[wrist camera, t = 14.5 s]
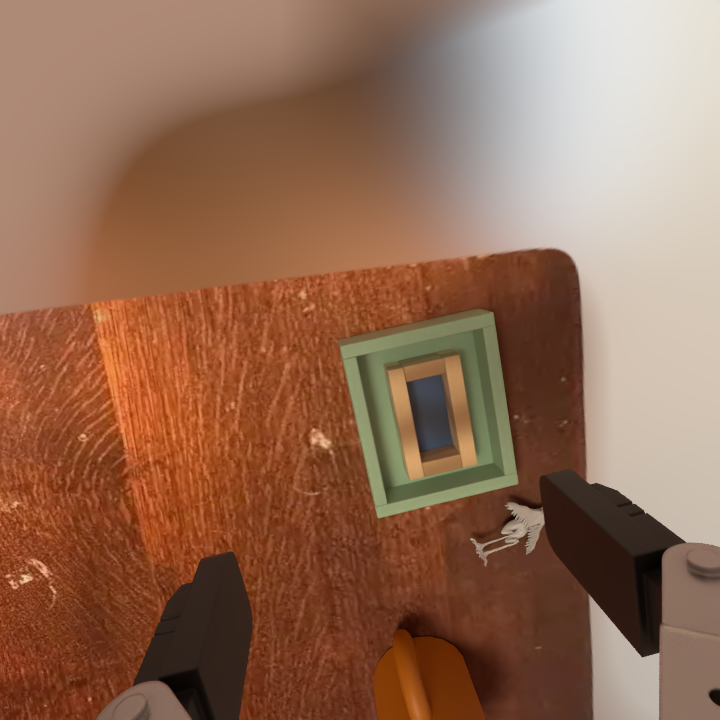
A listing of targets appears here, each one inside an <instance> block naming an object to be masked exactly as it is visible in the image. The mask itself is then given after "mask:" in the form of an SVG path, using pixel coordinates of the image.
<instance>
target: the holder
mask: <svg viewBox="0 0 720 720" xmlns="http://www.w3.org/2000/svg"><path fill="white" fill-rule="evenodd" d="M338 344H339V349H340V353H341V358H342V362H343V367H344V371H345V376H346V380H347V385H348V389H349V394H350V398H351V403H352V407H353V412H354V416H355V421H356V426H357V430H358V435H359V439H360V444H361V448H362V453H363V457H364V462H365V466H366V471H367V475H368V480H369V484H370V489H371V493H372V498H373V502H374V506H375V509H376V513H377V517H378V518H382V517H386V516H390V515H394V514H398V513H402V512H406V511H410V510H414V509H418V508H423V507H427V506H431V505H435V504H439V503H443V502H447V501H451V500H455V499H459V498H463V497H467V496H471V495H475V494H480V493H484V492H488V491H492V490H496V489H500V488H504V487H508V486H512V485H516V484H518V477H517V473H516V472H517V471H516V464H515V457H514V450H513V443H512V437H511V430H510V423H509V416H508V409H507V402H506V395H505V388H504V382H503V375H502V368H501V361H500V354H499V347H498V340H497V333H496V327H495V320H494V313H493V312H490V311H487V310H483V309H480V308H477V309H473V310H468V311H464V312H459V313H455V314H450V315H446V316H441V317H437V318H432V319H428V320H423V321H419V322H414V323H410V324H405V325H401V326H396V327H392V328H387V329H383V330H378V331H374V332H369V333H365V334H360V335H356V336H351V337H347V338H342V339H338ZM447 349H451V350H453V351H454V352H456V353H458V354H459V355H460V361H461V367H462V373H463V379H464V385H465V391H466V397H467V403H468V409H469V415H470V422H471V428H472V434H473V440H474V446H475V452H476V458H477V465H473V466H469V467H465V468H463V467H462V468H460V469H456V470H452V471H448V472H443V473H439V474H435V475H431V476H427V477H423V478H419V479H414V480H409V478H408V476H407V474H406V471H405V469H404V466H403V461H402V456H401V452H400V447H399V442H398V437H397V432H396V427H395V422H394V417H393V412H392V407H391V402H390V397H389V392H388V387H387V383H386V378H385V373H384V368H383V364H386V363H390V362H395V361H399V360H404V359H408V358H413V357H417V356H421V355H426V354H430V353H434V352H435V353H436V352H438V351H443V350H447Z"/></svg>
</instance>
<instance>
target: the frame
mask: <svg viewBox="0 0 720 720" xmlns="http://www.w3.org/2000/svg"><path fill="white" fill-rule="evenodd" d="M383 368H384V373H385V378H386V383H387V387H388V392H389V397H390V402H391V407H392V412H393V417H394V422H395V427H396V432H397V437H398V442H399V447H400V452H401V456H402V461H403V466H404V469H405V471H406V474H407V476H408V478H409V480H414V479H419V478H423V477H427V476H431V475H435V474H439V473H443V472H448V471H452V470H456V469H460V468H462V467H463V468H465V467H469V466H473V465H477V458H476V452H475V446H474V440H473V434H472V428H471V422H470V415H469V409H468V403H467V397H466V391H465V385H464V379H463V373H462V367H461V361H460V355H459V354H458V353H456V352H454V351H453V350H451V349H447V350H443V351H438V352H436V353H435V352H434V353H430V354H426V355H421V356H417V357H413V358H408V359H404V360H399V361H395V362H390V363H386V364H383Z"/></svg>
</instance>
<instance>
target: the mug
mask: <svg viewBox="0 0 720 720" xmlns="http://www.w3.org/2000/svg"><path fill="white" fill-rule="evenodd" d="M392 644H393V647H392V648H390V649H389V650H388V651H387V652H386V653H385V654H384V655H383V657H382V658H381V659H380V660H379V662H378V664H377V667H376V669H375V672H374V682H373V687H374V695H375V702H376V710H377V718H378V720H486V718H485V715H484V713H483V710H482V707H481V704H480V702H479V699H478V696H477V693H476V691H475V688H474V685H473V682H472V680H471V677H470V674H469V672H468V669H467V666H466V663H465V661H464V658H463V656H462V655H461V653H460V652H459V651H458V650H457V648H456V647H455V646H453V645H452V644H450V643H448V642H447V641H445V640H443V639H439V638H435V637H431V636H426V637H413V638H412V637H411V635H410V634H409V633H408V632H407V631H406V630H404V629H399V630H397V631H396V632H395V633H394V635H393V640H392Z"/></svg>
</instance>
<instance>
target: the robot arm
mask: <svg viewBox="0 0 720 720" xmlns="http://www.w3.org/2000/svg"><path fill="white" fill-rule="evenodd" d="M540 492H541V500H542V507H543V514H544V522H545V529H546V534H547V537H548V540H549V543H550V545H551V547H552V549H553V551H554V552H555V554H556V555H557V556H558V558H559V559H560V560H561V561H562V562H563V564H564V565H565V566H566V567H567V568H568V569H569V571H570V572H571V573H572V574H573V575H574V577H575V578H576V579H577V580H578V581H579V583H580V584H581V585H582V586H583V587H584V589H585V590H586V591H587V592H588V593H589V595H590V596H591V597H592V598H593V599H594V601H595V602H596V603H597V604H598V605H599V606H600V608H601V609H602V610H603V611H604V612H605V614H606V615H607V616H608V617H609V618H610V620H611V621H612V622H613V623H614V624H615V626H616V627H617V628H618V629H619V630H620V632H621V633H622V634H623V635H624V636H625V638H626V639H627V640H628V641H629V642H630V643H631V645H632V646H633V647H634V648H635V649H636V651H637V652H638V653H639V654H640V655H641V657H645V656H649V655H653V654H656V653H660V675H659V677H660V678H659V680H660V682H659V684H660V685H659V687H660V688H659V695H660V696H659V720H720V547H716V546H713V545H709V544H703V543H686V542H685V541H684V540H682V539H681V538H680V537H678V536H677V535H676V534H674V533H673V532H672V531H670V530H669V529H668V528H666V527H665V526H664V525H662V524H661V523H660V522H658V521H657V520H656V519H654V518H653V517H651V516H650V515H649V514H648V513H646V514H645V512H644V510H642V509H641V508H640V507H638V506H637V505H636V504H632V501H630V500H629V499H627V498H626V497H625V496H624V495H622V494H621V493H620V492H618V491H617V490H614V489H611V488H609V487H606V486H603V485H601V484H598V483H595V484H591V485H590V484H589V483H587V482H586V481H585V480H584V479H582V478H581V477H580V476H579V475H577V474H576V473H575V472H574V471H572V470H570V469H568V470H564V471H560V472H556V473H552V474H547V475H543V476H541V477H540ZM160 620H161V622H159V623H158V626H157V628H156V631H155V633H154V635H155V636H154V637H153V638H152V640H151V643H150V645H149V647H148V650H147V652H146V655H145V657H144V660H143V662H142V664H141V667H140V669H139V672H138V674H137V676H136V679H135V681H134V684H133V686H132V687H131V688H129V689H127V690H126V691H124V692H123V693H121V694H119V695H118V696H117V697H116V698H114V699H113V700H112V701H111V702H110V703H109V704H108V705H107V706H106V707H105V708H104V709H103V710H102V711H101V713H100V714H99V715H98V717H97V718H96V720H239V714H240V707H241V701H242V694H243V688H244V681H245V675H246V668H247V662H248V655H249V649H250V642H251V636H252V612H251V606H250V602H249V599H248V596H247V592H246V589H245V586H244V582H243V579H242V576H241V572H240V569H239V566H238V562H237V559H236V556H235V554H234V553H233V552H232V551H230V552H226V553H222V554H218V555H214V556H210V557H206V558H202V559H201V560H200V563H199V565H198V568H197V571H196V574H195V576H194V579H193V582H192V583H188V584H184V585H182V586H181V587H180V588H179V589H178V590H177V591H176V593H175V594H174V595H173V596H172V597H171V598H170V599H169V601H168V602H167V604H166V607H165V609H164V611H163V614H162V616H161V619H160Z"/></svg>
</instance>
